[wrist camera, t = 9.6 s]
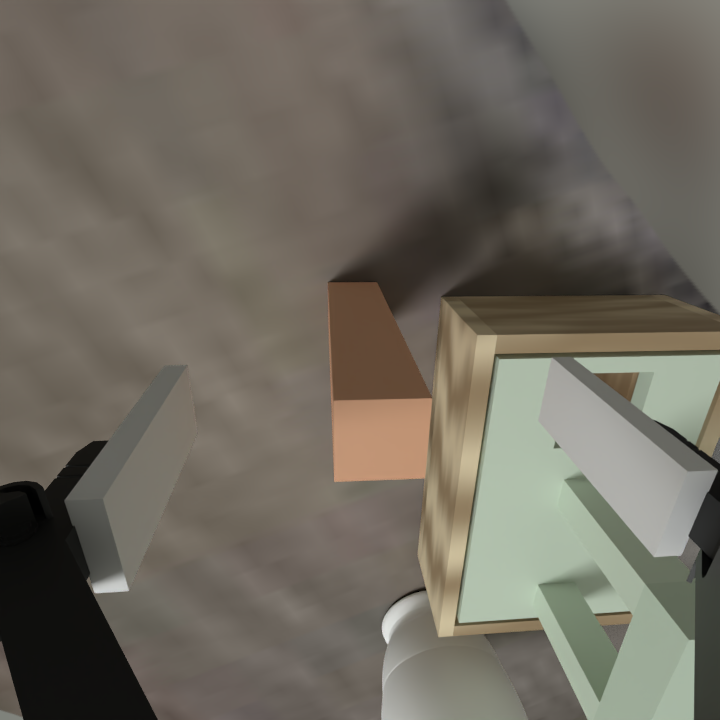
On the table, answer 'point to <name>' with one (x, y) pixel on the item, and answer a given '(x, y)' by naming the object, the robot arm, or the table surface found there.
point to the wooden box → (470, 395)
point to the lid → (584, 538)
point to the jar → (441, 671)
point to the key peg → (374, 390)
